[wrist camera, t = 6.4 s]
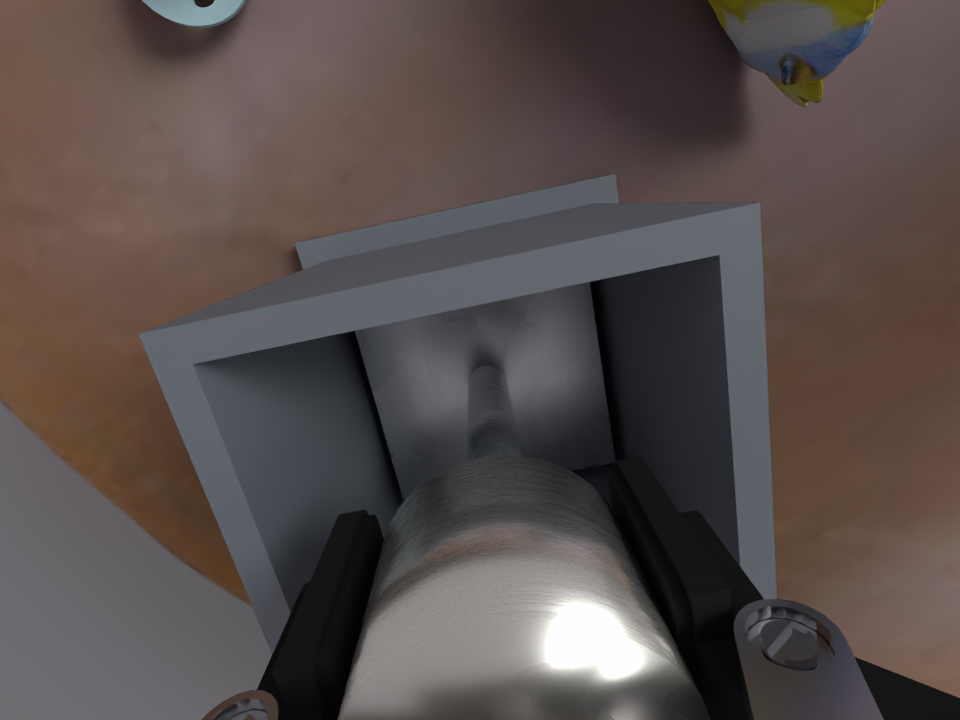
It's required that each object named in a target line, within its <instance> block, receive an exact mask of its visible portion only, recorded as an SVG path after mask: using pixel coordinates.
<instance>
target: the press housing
mask: <svg viewBox="0 0 960 720" xmlns="http://www.w3.org/2000/svg"><path fill="white" fill-rule="evenodd" d="M295 246H296V249H297V252H298V255H299V259H300V262H301V265H302V268H303V270H300V271H298V272H295V273H293V274H290V275H288V276H285V277H282V278H280V279H277V280H275V281H272V282H270V283H267V284H265V285H262V286H259V287H257V288H254V289H252V290H249V291H247V292H244V293H242V294H239V295H237V296H234V297H231V298H229V299H226V300H224V301H221V302H219V303H216V304H214V305H211V306H208V307H206V308H203V309H201V310H198V311H196V312H193V313H191V314H188V315H185V316H183V317H180V318H178V319H175V320H173V321H170V322H168V323H165V324H162V325H160V326H157V327H155V328H152V329H150V330H147V331H145V332H142V333H139V337H140V339H141V341H142V344H143V346H144V348H145V351H146V353H147V356H148V358H149V360H150V363H151V365H152V368H153V370H154V372H155V375H156V377H157V380H158V382H159V384H160V387H161V389H162V392H163V394H164V396H165V399H166V401H167V403H168V406H169V408H170V411H171V413H172V415H173V418H174V420H175V423H176V425H177V427H178V430H179V432H180V435H181V437H182V439H183V442H184V444H185V447H186V449H187V451H188V454H189V456H190V458H191V461H192V463H193V466H194V468H195V470H196V473H197V475H198V478H199V480H200V482H201V485H202V487H203V490H204V492H205V494H206V497H207V499H208V502H209V504H210V506H211V509H212V511H213V513H214V516H215V518H216V521H217V523H218V525H219V528H220V530H221V533H222V535H223V537H224V540H225V542H226V545H227V547H228V549H229V552H230V554H231V557H232V559H233V561H234V564H235V566H236V568H237V571H238V573H239V576H240V578H241V580H242V583H243V585H244V588H245V590H246V592H247V595H248V597H249V600H250V602H251V604H252V607H253V609H254V611H255V614H256V616H257V619H258V621H259V623H260V626H261V628H262V630H263V633H264V635H265V638H266V640H267V643H268V645H269V647H270V649H271V652H272V654H273V652H274V650H275V648H276V645H277V643H278V641H279V639H280V636H281V634H282V632H283V629H284V627H285V625H286V623H287V620H288V618H289V616H290V614H291V611H292V609H293V607H294V604H295V602H296V600H297V598H298V595H299V593H300V591H301V589H302V587H303V586H304V585H305V584H306V583H308V582H310V580H311V578H312V576H313V573H314V571H315V569H316V566H317V564H318V562H319V559H320V557H321V555H322V552H323V550H324V548H325V545H326V543H327V541H328V538H329V536H330V534H331V531H332V529H333V526H334V524H335V522H336V519H337V517H338V516H339V515H340V514H343V513H349V512H354V511H359V510H366V511H367V513H368V514H369V515H373V514H374V515H376V517H377V519H378V521H379V525H380V528H381V531H382V534H383V538H385V534H386V532H387V529H388V527H389V525H390V522H391V520H392V518H393V517H394V515H395V513H396V512H397V510H398V508H399V507H400V506H401V505H402V503H403V502H404V500H403V497H402V493H401V490H400V486H399V483H398V479H397V476H396V472H395V469H394V465H393V462H392V459H391V455H390V452H389V448H388V445H387V441H386V438H385V434H384V431H383V427H382V424H381V420H380V417H379V413H378V410H377V406H376V403H375V399H374V396H373V393H372V389H371V386H370V382H369V379H368V375H367V372H366V368H365V365H364V361H363V358H362V354H361V351H360V347H359V344H358V340H357V337H356V334H355V330H360V329H365V328H370V327H375V326H379V325H384V324H389V323H394V322H399V321H404V320H408V319H413V318H418V317H423V316H428V315H432V314H437V313H442V312H447V311H452V310H456V309H461V308H466V307H471V306H476V305H481V304H485V303H490V302H495V301H500V300H505V299H509V298H514V297H519V296H524V295H529V294H533V293H538V292H543V291H548V290H553V289H557V288H562V287H567V286H572V285H577V284H582V283H586V282H590V288H591V295H592V302H593V309H594V316H595V323H596V330H597V337H598V344H599V351H600V358H601V365H602V372H603V379H604V386H605V393H606V400H607V407H608V414H609V421H610V427H611V434H612V441H613V448H614V455H615V461H620V460H625V459H630V458H635V457H641V458H642V459H643V460H644V462H645V463H646V465H647V466H648V467H649V469H650V470H651V472H652V473H653V475H654V476H655V478H656V479H657V481H658V482H659V484H660V485H661V487H662V488H663V490H664V491H665V493H666V494H667V496H668V497H669V499H670V500H671V502H672V503H673V505H674V506H675V508H676V509H677V511H678V512H679V513H682V512H688V511H693V510H696V511H699V512H700V514H701V515H702V516H703V517H704V518H705V520H706V521H707V522H708V524H709V525H710V526H711V528H712V529H713V530H714V532H715V533H716V535H717V536H718V537H719V539H720V540H721V541H722V543H723V544H724V545H725V547H726V548H727V549H728V551H729V552H730V553H731V555H732V556H733V557H734V559H735V560H736V562H737V563H738V564H739V566H740V567H741V568H742V570H743V571H744V572H745V574H746V575H747V576H748V578H749V579H750V580H751V582H752V583H753V584H754V586H755V587H756V589H757V590H758V591H759V593H760V594H761V595H762V597H763V598H764V599H777V588H776V564H775V540H774V517H773V493H772V469H771V446H770V422H769V398H768V375H767V351H766V327H765V303H764V280H763V256H762V232H761V209H760V202H722V203H619V199H618V190H617V182H616V174H611V175H607V176H602V177H597V178H593V179H588V180H584V181H579V182H574V183H570V184H565V185H561V186H556V187H551V188H547V189H542V190H538V191H533V192H528V193H524V194H519V195H514V196H510V197H505V198H501V199H496V200H491V201H487V202H482V203H478V204H473V205H468V206H464V207H459V208H454V209H450V210H445V211H441V212H436V213H431V214H427V215H422V216H418V217H413V218H408V219H404V220H399V221H395V222H390V223H385V224H381V225H376V226H371V227H367V228H362V229H358V230H353V231H348V232H344V233H339V234H335V235H330V236H325V237H321V238H316V239H311V240H307V241H302V242H298V243H295ZM614 468H615V463H611V464H606V465H601V466H595V467H590V468H585V469H580V470H574V471H571V472H573V473H575V474H577V475H579V476H580V477H581V478H583V479H584V480H586V481H587V482H589V483H590V484H591V485H592V486H593V487H594V488H595V489H597V490H598V491H599V492H600V493H601V494H602V495H603V497H604V498H605V499H606V500H607V502H608V503H609V504H610V505H611V499H610V492H609V485H608V479H607V470H609V469H614ZM611 507H612V505H611Z"/></svg>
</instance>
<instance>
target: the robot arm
mask: <svg viewBox="0 0 960 720" xmlns="http://www.w3.org/2000/svg"><path fill="white" fill-rule="evenodd" d="M607 479H608V485H609V492H610V499H611V505H612V509H613V510H614V512H615V514H616V516H617V517H618V519H619V521H620V524H621V526H622V528H623V530H624V532H625V534H626V536H627V539H628V541H629V543H630V545H631V547H632V549H633V551H634V554H635V556H636V558H637V560H638V562H639V564H640V566H641V569H642V571H643V573H644V575H645V577H646V579H647V581H648V584H649V586H650V588H651V590H652V592H653V594H654V596H655V599H656V601H657V603H658V605H659V607H660V609H661V611H662V614H663V616H664V618H665V620H666V622H667V624H668V626H669V629H670V631H671V633H672V635H673V637H674V639H675V641H676V644H677V646H678V648H679V650H680V652H681V654H682V656H683V659H684V661H685V663H686V665H687V667H688V669H689V671H690V674H691V676H692V678H693V680H694V682H695V684H696V686H697V689H698V691H699V693H700V695H701V697H702V699H703V701H704V704H705V706H706V708H707V710H708V713H709V715H710V718H711V720H960V698H958V697H955V696H953V695H950V694H948V693H945V692H942V691H940V690H937V689H935V688H932V687H930V686H927V685H925V684H922V683H919V682H917V681H914V680H912V679H909V678H907V677H904V676H902V675H899V674H896V673H894V672H891V671H889V670H886V669H884V668H881V667H879V666H876V665H874V664H871V663H868V662H866V661H863V660H861V659H858V658H856V657H854V655H853V653H852V651H851V649H850V647H849V645H848V643H847V640H846V639H845V637H844V636H843V634H842V633H841V631H840V630H839V628H838V627H837V626H836V625H835V624H834V623H833V622H832V621H830V620H829V619H828V618H827V617H826V616H825V615H823V614H821V613H819V612H818V611H816V610H814V609H812V608H810V607H809V606H806V605H803V604H800V603H797V602H794V601H789V600H781V599H764V598H763V597H762V595H761V594H760V593H759V591H758V590H757V589H756V587H755V586H754V584H753V583H752V582H751V580H750V579H749V578H748V576H747V575H746V574H745V572H744V571H743V570H742V568H741V567H740V566H739V564H738V563H737V562H736V560H735V559H734V557H733V556H732V555H731V553H730V552H729V551H728V549H727V548H726V547H725V545H724V544H723V543H722V541H721V540H720V539H719V537H718V536H717V535H716V533H715V532H714V530H713V529H712V528H711V526H710V525H709V524H708V522H707V521H706V520H705V518H704V517H703V516H702V515H701V514H700V512H699V511H696V510H693V511H688V512H682V513H679V512H678V511H677V509H676V508H675V506H674V505H673V503H672V502H671V500H670V499H669V497H668V496H667V494H666V493H665V491H664V490H663V488H662V487H661V485H660V484H659V482H658V481H657V479H656V478H655V476H654V475H653V473H652V472H651V470H650V469H649V467H648V466H647V465H646V463H645V462H644V460H643V459H642V458H641V457H635V458H630V459H625V460H620V461H615V468H614V469H609V470H607ZM383 542H384V538H383V534H382V531H381V528H380V525H379V521H378V519H377V517H376V515H374V514H373V515H369V514H368V513H367V511H366V510H359V511H354V512H349V513H343V514H340V515H339V516H338V517H337V519H336V522H335V524H334V526H333V529H332V531H331V534H330V536H329V538H328V541H327V543H326V545H325V548H324V550H323V552H322V555H321V557H320V559H319V562H318V564H317V566H316V569H315V571H314V573H313V576H312V578H311V580H310V582H308V583H306V584H305V585H304V586H303V587H302V589H301V591H300V593H299V595H298V598H297V600H296V602H295V604H294V607H293V609H292V611H291V614H290V616H289V618H288V620H287V623H286V625H285V627H284V629H283V632H282V634H281V636H280V639H279V641H278V643H277V645H276V648H275V650H274V652H273V654H272V657H271V659H270V661H269V664H268V666H267V668H266V670H265V673H264V675H263V677H262V679H261V682H260V684H259V686H258V689H257V690H250V691H247V692H243V693H240V694H237V695H235V696H233V697H231V698H229V699H227V700H225V701H223V702H222V703H221V704H219V705H218V706H216V707H215V708H214V709H212V710H211V711H210V712H209V713H208V714H207V715H206V716H205V717H204V718H203V719H202V720H338V716H339V712H340V708H341V704H342V700H343V696H344V693H345V689H346V685H347V681H348V677H349V673H350V669H351V665H352V662H353V658H354V654H355V650H356V646H357V642H358V638H359V635H360V631H361V627H362V623H363V619H364V615H365V611H366V608H367V604H368V600H369V596H370V592H371V588H372V584H373V581H374V577H375V573H376V569H377V565H378V561H379V557H380V554H381V550H382V546H383Z"/></svg>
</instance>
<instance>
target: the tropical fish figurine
mask: <svg viewBox="0 0 960 720" xmlns="http://www.w3.org/2000/svg"><path fill="white" fill-rule="evenodd" d="M708 2H709V3H710V5H711V7H712V8H713V10H714V11H715V13H716V15H717V18H718V20H719V22H720V24H721V25H722V27H723V28H724V30H725V32H726V33H727V35H728V36H729V38H730V39H731V40H732V42H733V43H734V45H735V47H736V49H737V51H738V53H739V55H740V56H741V57H742V59H743V60H744V62H745V63H746V64H747V65H748V66H750V67H752V68H754V69H756V70H758V71H760V72H764V73H765V74H766V75H767V76H768V77H769V79H770V80H771V81H772V82H773V83H774V84H775V85H776V86H777V87H778V88H779V89H780V90H781V91H782V92H783V93H784V94H785V95H786V96H787V97H788V98H790V99H791V100H792V101H794V102H795V103H796V104H797V105H799V106H802V107H806V106H807V105H808V104H809V102H810V101H812V102H815V103H819V102H821V101H822V99H823V78H825V77H826V76H827V75H829V74H830V73H831V72H833V71H834V70H835V69H836V68H837V66H838V65H839V64H840V63H841V62H842V60H843V59H844V58H845V57H846V55H848V54H849V53H851V52H852V51H853V50H855V49H856V48H857V47H858V46H859V45H860V44H861V43H862V41H863V40H864V38H865V37H866V35H867V34H868V32H869V30H870V28H871V26H872V23H873V20H874V15H875V11H876V10H877V9H878V8H879V7H880V6H881V5H882V4H883V3H884V2H885V0H708Z"/></svg>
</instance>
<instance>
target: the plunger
mask: <svg viewBox="0 0 960 720" xmlns="http://www.w3.org/2000/svg"><path fill="white" fill-rule="evenodd" d="M355 334H356V337H357V340H358V344H359V347H360V351H361V354H362V358H363V361H364V365H365V368H366V372H367V375H368V379H369V382H370V386H371V389H372V393H373V396H374V399H375V403H376V406H377V410H378V413H379V417H380V420H381V424H382V427H383V431H384V434H385V438H386V441H387V445H388V448H389V452H390V455H391V459H392V462H393V465H394V469H395V472H396V476H397V479H398V483H399V486H400V490H401V493H402V497H403V500H404V502H403V503H402V505H401V506H400V507H399V508H398V510H397V512H396V513H395V515H394V517H393V518H392V520H391V522H390V525H389V527H388V529H387V532H386V534H385V538H384V542H383V546H382V550H381V554H380V557H379V561H378V565H377V569H376V573H375V577H374V581H373V584H372V588H371V592H370V596H369V600H368V604H367V608H366V611H365V615H364V619H363V623H362V627H361V631H360V635H359V638H358V642H357V646H356V650H355V654H354V658H353V662H352V665H351V669H350V673H349V677H348V681H347V685H346V689H345V693H344V696H343V700H342V704H341V708H340V712H339V716H338V720H711V718H710V715H709V713H708V710H707V708H706V706H705V704H704V701H703V699H702V697H701V695H700V693H699V691H698V689H697V686H696V684H695V682H694V680H693V678H692V676H691V674H690V671H689V669H688V667H687V665H686V663H685V661H684V659H683V656H682V654H681V652H680V650H679V648H678V646H677V644H676V641H675V639H674V637H673V635H672V633H671V631H670V629H669V626H668V624H667V622H666V620H665V618H664V616H663V614H662V611H661V609H660V607H659V605H658V603H657V601H656V599H655V596H654V594H653V592H652V590H651V588H650V586H649V584H648V581H647V579H646V577H645V575H644V573H643V571H642V569H641V566H640V564H639V562H638V560H637V558H636V556H635V554H634V551H633V549H632V547H631V545H630V543H629V541H628V539H627V536H626V534H625V532H624V530H623V528H622V526H621V524H620V521H619V519H618V517H617V516H616V514H615V512H614V510H613V509H612V507H611V505H610V504H609V503H608V502H607V500H606V499H605V498H604V497H603V495H602V494H601V493H600V492H599V491H598V490H597V489H595V488H594V487H593V486H592V485H591V484H590V483H589V482H587V481H586V480H584V479H583V478H581V477H580V476H579V475H577V474H575V473H573V472H571V471H574V470H580V469H585V468H590V467H595V466H601V465H606V464H611V463H615V455H614V448H613V441H612V434H611V427H610V421H609V414H608V407H607V400H606V393H605V386H604V379H603V372H602V365H601V358H600V351H599V344H598V337H597V330H596V323H595V316H594V309H593V302H592V295H591V288H590V282H586V283H582V284H577V285H572V286H567V287H562V288H557V289H553V290H548V291H543V292H538V293H533V294H529V295H524V296H519V297H514V298H509V299H505V300H500V301H495V302H490V303H485V304H481V305H476V306H471V307H466V308H461V309H456V310H452V311H447V312H442V313H437V314H432V315H428V316H423V317H418V318H413V319H408V320H404V321H399V322H394V323H389V324H384V325H379V326H375V327H370V328H365V329H360V330H355Z"/></svg>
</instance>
